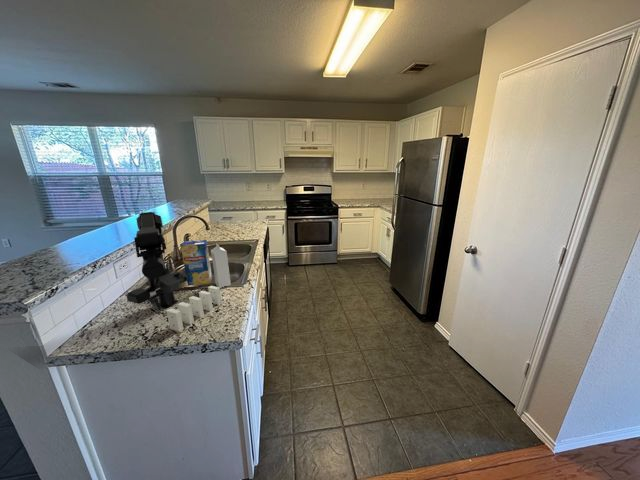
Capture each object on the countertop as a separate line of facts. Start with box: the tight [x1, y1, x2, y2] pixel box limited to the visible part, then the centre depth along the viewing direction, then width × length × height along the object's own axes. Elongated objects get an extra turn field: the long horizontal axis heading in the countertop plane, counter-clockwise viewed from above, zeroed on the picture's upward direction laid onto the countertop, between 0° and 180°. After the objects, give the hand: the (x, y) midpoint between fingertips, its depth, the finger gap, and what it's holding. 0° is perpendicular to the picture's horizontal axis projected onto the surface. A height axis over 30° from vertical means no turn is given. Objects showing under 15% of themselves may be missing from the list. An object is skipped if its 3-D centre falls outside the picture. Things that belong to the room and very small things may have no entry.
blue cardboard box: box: [180, 239, 213, 287], centre depth 133 cm, size 7×11×22 cm, turn 104°
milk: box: [210, 243, 231, 289], centre depth 129 cm, size 6×6×22 cm
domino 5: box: [207, 285, 222, 306], centre depth 114 cm, size 5×2×8 cm, turn 66°
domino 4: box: [198, 290, 214, 312], centre depth 110 cm, size 5×2×8 cm, turn 66°
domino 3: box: [188, 295, 205, 318], centre depth 106 cm, size 5×2×8 cm, turn 66°
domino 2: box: [177, 301, 195, 325], centre depth 101 cm, size 5×2×8 cm, turn 66°
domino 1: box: [166, 307, 184, 332], centre depth 97 cm, size 5×2×8 cm, turn 67°
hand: (164, 307), depth 92 cm, fingers open, 4 cm apart
